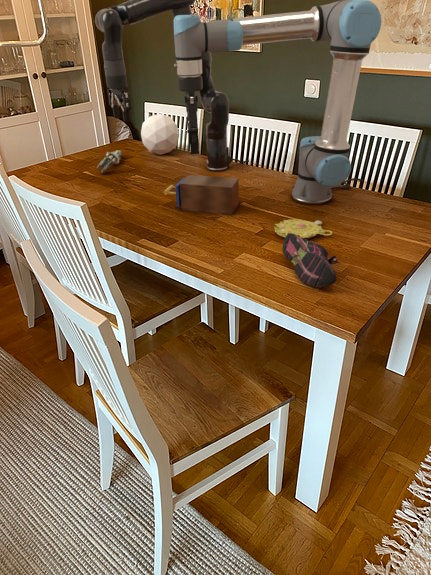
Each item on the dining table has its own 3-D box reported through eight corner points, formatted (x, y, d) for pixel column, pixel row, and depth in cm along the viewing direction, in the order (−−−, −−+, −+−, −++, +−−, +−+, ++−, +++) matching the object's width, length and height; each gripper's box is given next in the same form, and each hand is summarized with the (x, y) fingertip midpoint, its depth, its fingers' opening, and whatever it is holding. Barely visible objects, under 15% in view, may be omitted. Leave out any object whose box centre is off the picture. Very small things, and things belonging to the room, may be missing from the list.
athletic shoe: (323, 277, 110) (361, 269, 114) (285, 218, 122) (321, 213, 126) (307, 304, 119) (343, 296, 123) (273, 246, 130) (307, 241, 135)
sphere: (153, 165, 235) (133, 132, 232) (185, 147, 237) (165, 113, 235) (153, 156, 216) (131, 120, 214) (188, 137, 218) (167, 100, 216)
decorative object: (286, 211, 157) (342, 219, 147) (286, 217, 158) (341, 226, 148) (260, 233, 142) (319, 243, 133) (260, 240, 144) (319, 251, 134)
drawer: (163, 205, 167) (161, 184, 162) (172, 197, 174) (170, 176, 170) (223, 210, 161) (222, 189, 157) (229, 201, 168) (229, 180, 164)
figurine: (101, 154, 197) (119, 141, 223) (91, 167, 200) (110, 152, 227) (114, 165, 199) (130, 151, 225) (103, 178, 203) (121, 162, 229)
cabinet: (181, 210, 165) (179, 183, 160) (190, 200, 173) (189, 174, 168) (231, 215, 160) (231, 187, 155) (238, 204, 168) (238, 178, 163)
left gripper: (133, 74, 159) (139, 121, 167) (116, 70, 169) (122, 115, 177) (114, 76, 155) (121, 124, 164) (98, 73, 165) (105, 118, 174)
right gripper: (176, 71, 141) (181, 138, 153) (177, 82, 120) (183, 159, 132) (199, 70, 142) (202, 137, 153) (205, 81, 121) (208, 158, 132)
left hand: (122, 119), depth 171 cm, fingers open, 8 cm apart
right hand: (193, 148), depth 143 cm, fingers open, 13 cm apart
